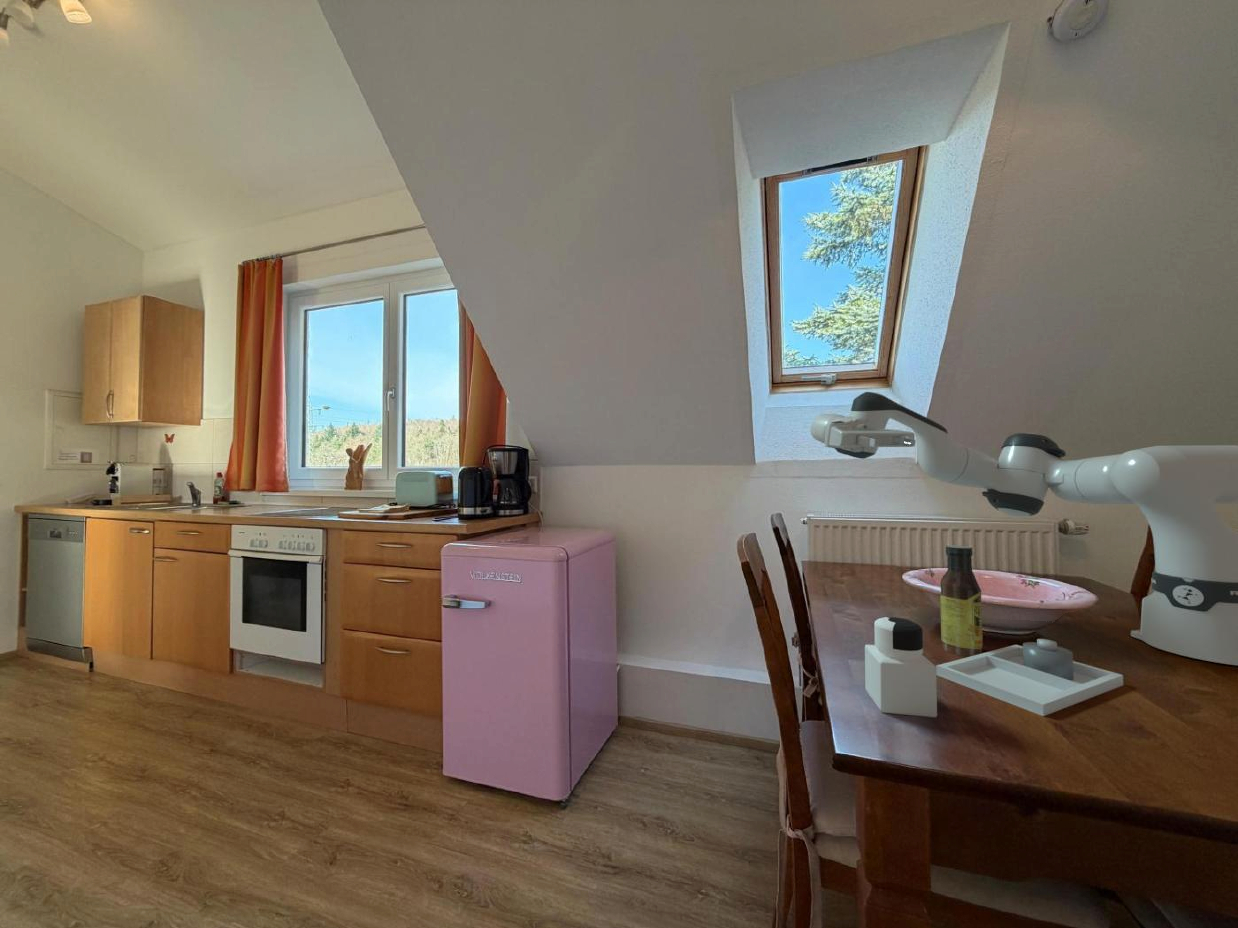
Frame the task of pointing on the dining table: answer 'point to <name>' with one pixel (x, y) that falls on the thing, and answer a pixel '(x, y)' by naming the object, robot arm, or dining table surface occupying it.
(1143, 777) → the dining table surface
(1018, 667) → the white rectangular tray
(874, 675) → the medicine bottle
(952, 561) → the sauce bottle
